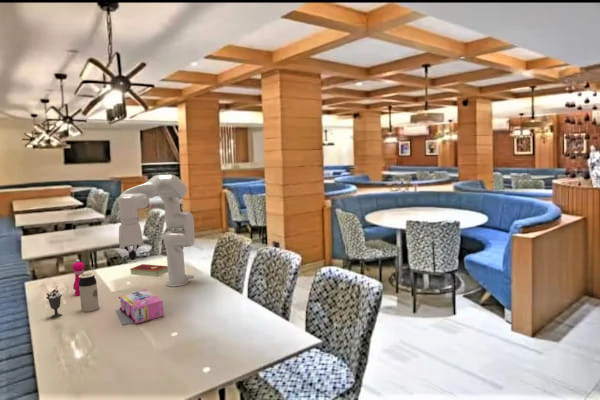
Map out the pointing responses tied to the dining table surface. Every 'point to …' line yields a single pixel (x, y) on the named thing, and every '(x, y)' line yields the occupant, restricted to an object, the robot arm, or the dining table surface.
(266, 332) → the dining table surface
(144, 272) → the hardcover book
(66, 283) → the dining table surface
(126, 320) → the rubber mat
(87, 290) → the travel mug
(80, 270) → the pepper mill
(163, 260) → the dining table surface
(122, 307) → the gum box
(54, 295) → the sundae
